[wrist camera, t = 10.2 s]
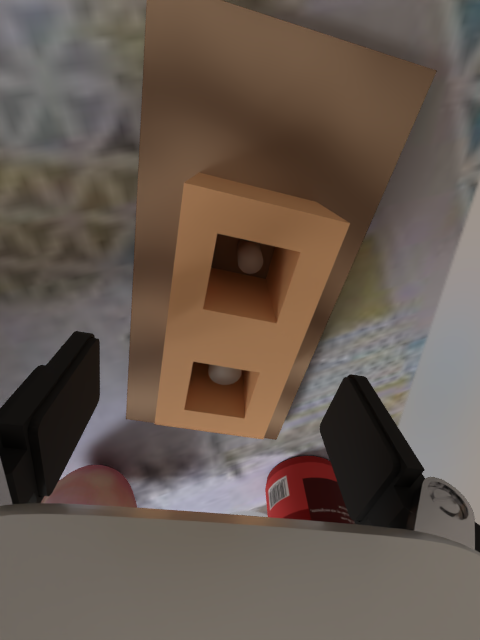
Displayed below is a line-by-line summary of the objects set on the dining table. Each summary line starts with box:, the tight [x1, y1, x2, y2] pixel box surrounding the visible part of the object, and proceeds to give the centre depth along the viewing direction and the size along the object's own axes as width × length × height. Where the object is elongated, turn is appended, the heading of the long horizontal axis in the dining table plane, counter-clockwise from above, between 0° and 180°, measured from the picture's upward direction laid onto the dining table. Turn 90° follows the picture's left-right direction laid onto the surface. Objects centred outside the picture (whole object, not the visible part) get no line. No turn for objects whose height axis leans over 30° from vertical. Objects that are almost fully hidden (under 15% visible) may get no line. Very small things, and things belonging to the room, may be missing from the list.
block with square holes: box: [155, 173, 350, 439], centre depth 15 cm, size 12×6×5 cm, turn 167°
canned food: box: [265, 456, 355, 524], centre depth 25 cm, size 8×8×11 cm
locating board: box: [126, 0, 437, 440], centre depth 17 cm, size 24×12×5 cm, turn 167°
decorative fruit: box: [41, 465, 137, 508], centre depth 24 cm, size 9×8×10 cm
